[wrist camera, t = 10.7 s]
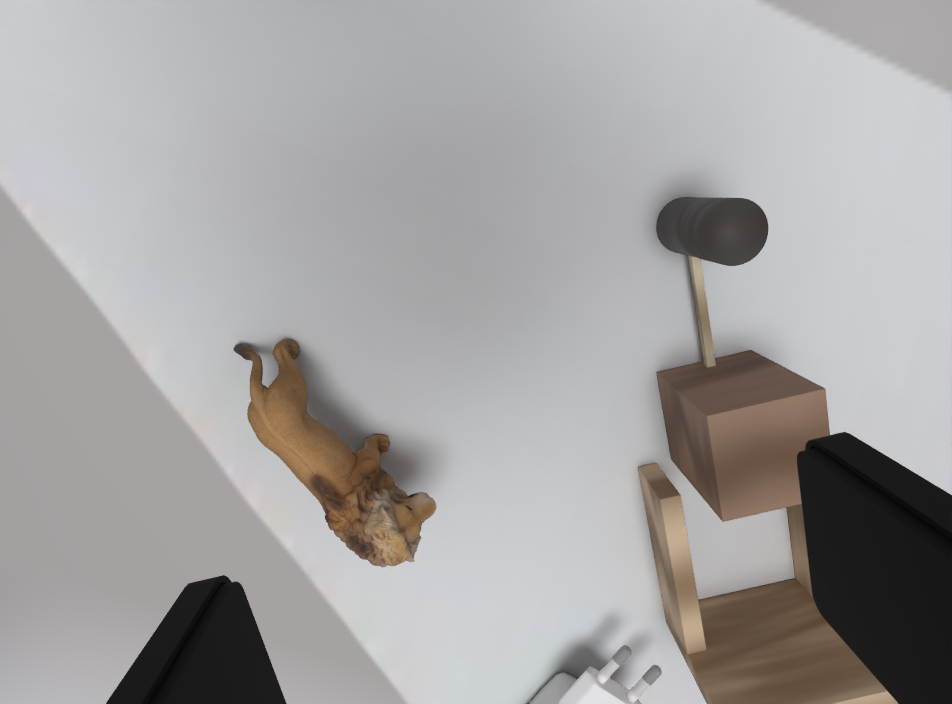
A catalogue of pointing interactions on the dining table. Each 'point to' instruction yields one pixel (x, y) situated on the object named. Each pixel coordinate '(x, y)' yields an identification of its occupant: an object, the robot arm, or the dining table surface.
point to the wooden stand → (751, 623)
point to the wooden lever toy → (733, 380)
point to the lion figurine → (335, 466)
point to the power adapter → (596, 685)
